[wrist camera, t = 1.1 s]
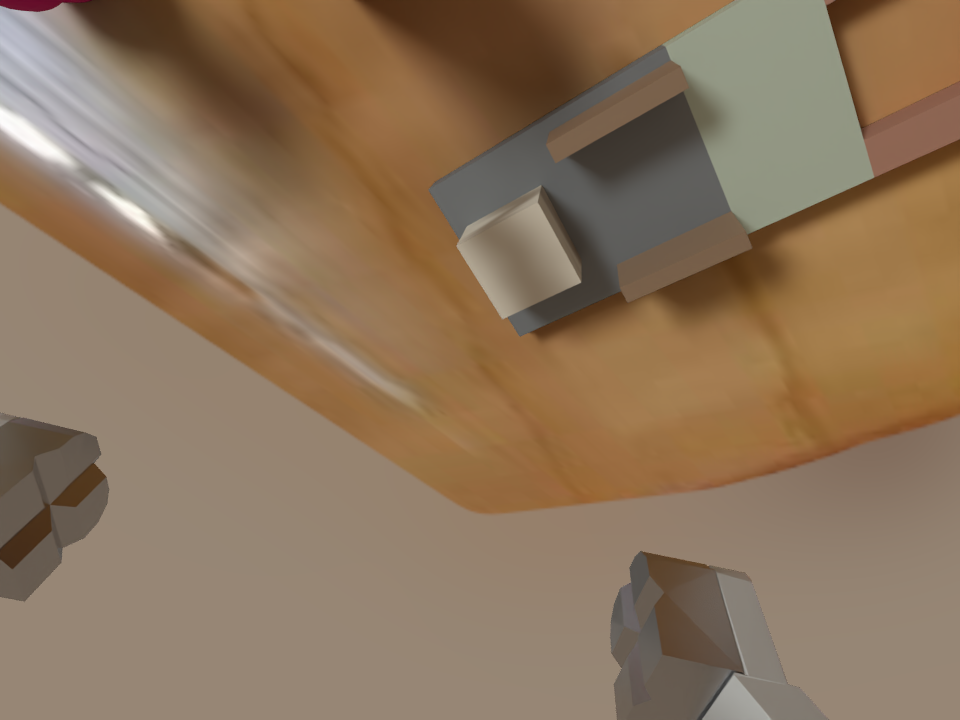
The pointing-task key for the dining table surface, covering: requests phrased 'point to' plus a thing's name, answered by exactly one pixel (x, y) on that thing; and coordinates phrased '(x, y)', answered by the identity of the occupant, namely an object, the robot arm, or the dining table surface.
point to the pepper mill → (35, 4)
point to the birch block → (521, 253)
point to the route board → (695, 151)
